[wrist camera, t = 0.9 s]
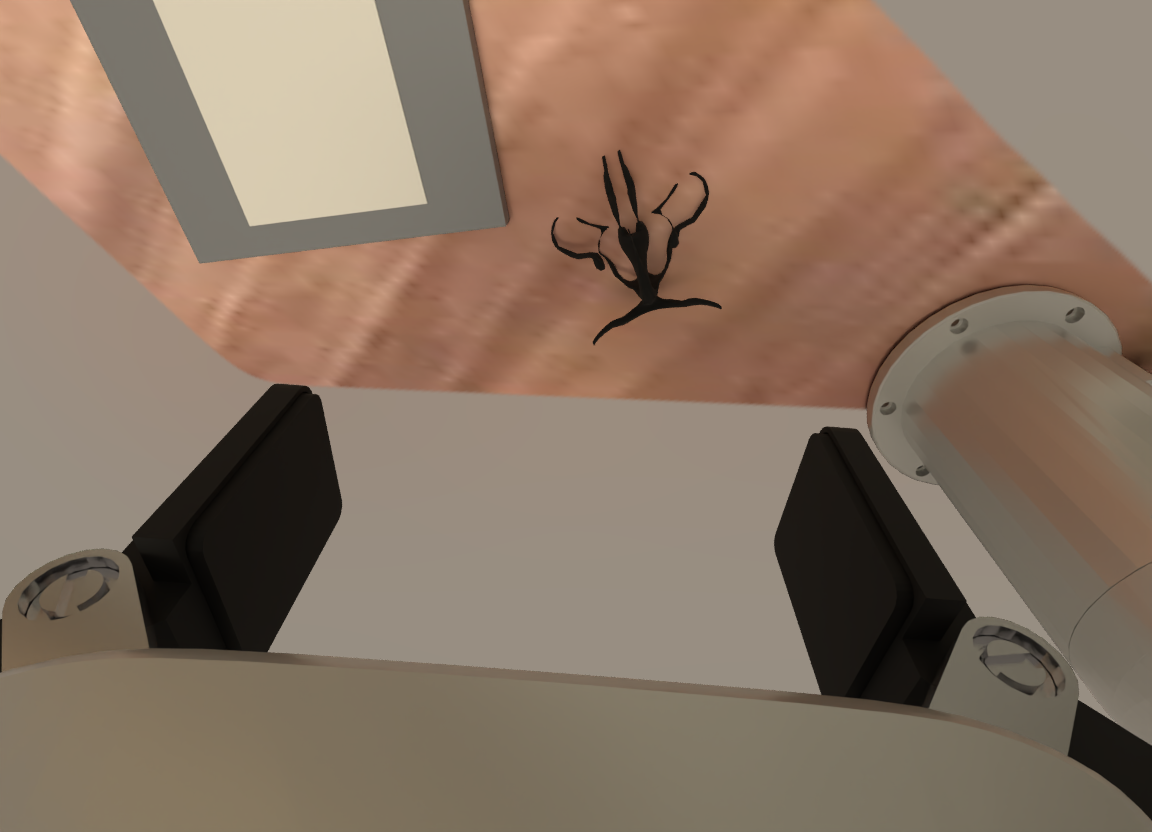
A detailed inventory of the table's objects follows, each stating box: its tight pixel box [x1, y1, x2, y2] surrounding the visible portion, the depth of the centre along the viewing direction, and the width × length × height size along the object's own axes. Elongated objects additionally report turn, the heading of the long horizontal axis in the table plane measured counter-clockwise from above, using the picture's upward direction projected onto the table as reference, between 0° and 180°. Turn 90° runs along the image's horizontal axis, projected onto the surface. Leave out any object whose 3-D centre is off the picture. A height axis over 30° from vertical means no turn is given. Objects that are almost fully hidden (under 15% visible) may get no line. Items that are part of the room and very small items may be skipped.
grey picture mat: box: [70, 0, 509, 263], centre depth 26 cm, size 16×13×1 cm
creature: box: [551, 150, 722, 346], centre depth 27 cm, size 8×5×8 cm
